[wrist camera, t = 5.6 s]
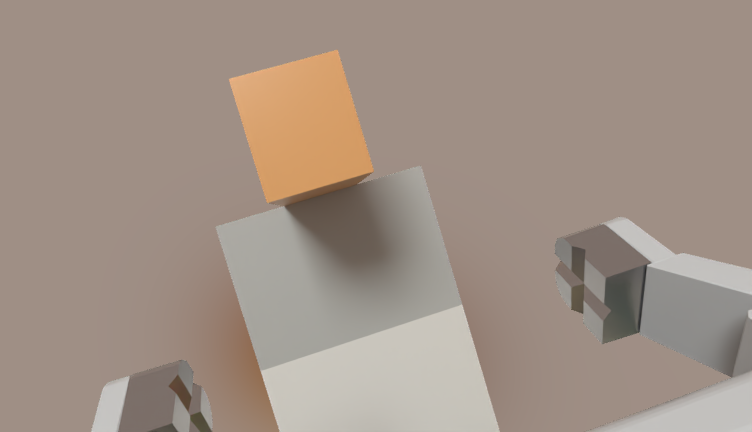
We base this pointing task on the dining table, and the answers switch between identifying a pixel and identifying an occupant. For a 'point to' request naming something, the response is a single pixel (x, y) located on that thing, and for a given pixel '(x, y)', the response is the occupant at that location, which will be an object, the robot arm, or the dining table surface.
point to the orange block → (302, 128)
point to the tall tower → (358, 313)
